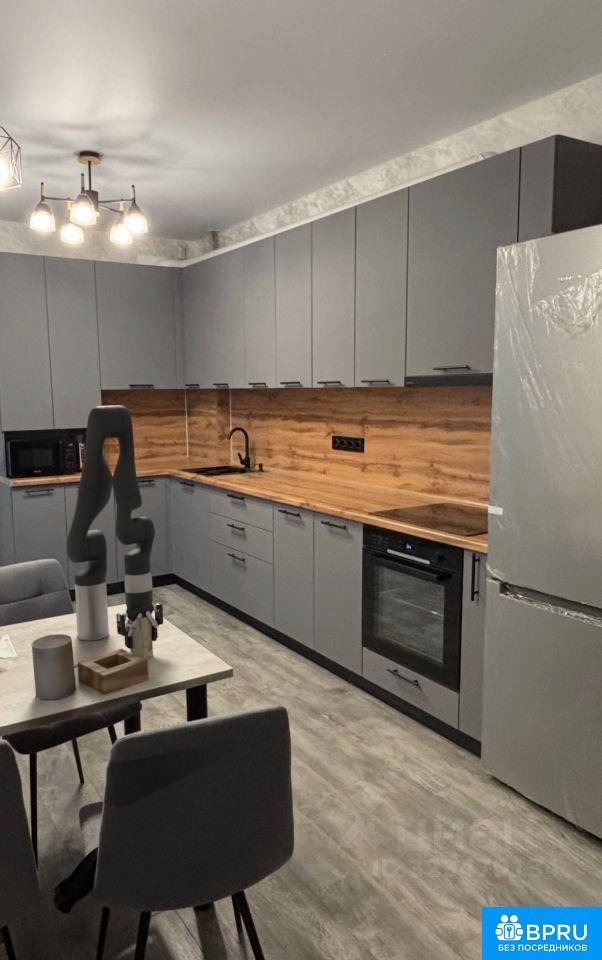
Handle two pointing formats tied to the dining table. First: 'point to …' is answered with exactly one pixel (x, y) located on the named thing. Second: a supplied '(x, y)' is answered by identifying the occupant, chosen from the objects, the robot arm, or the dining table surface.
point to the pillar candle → (53, 666)
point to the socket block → (112, 671)
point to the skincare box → (142, 638)
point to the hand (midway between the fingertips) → (141, 644)
